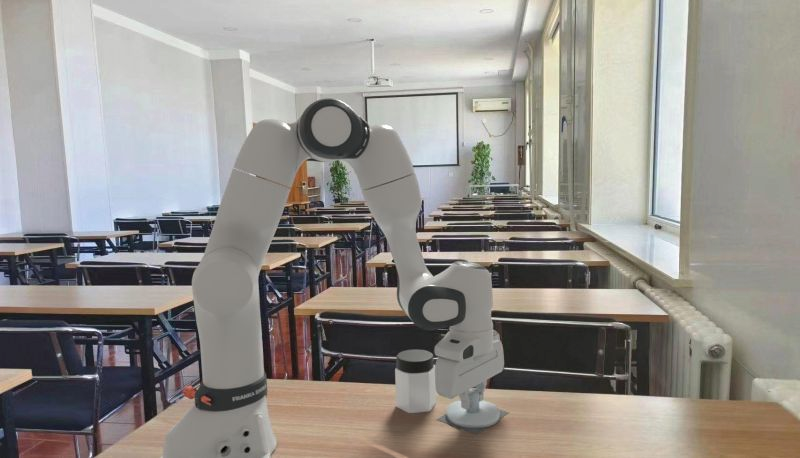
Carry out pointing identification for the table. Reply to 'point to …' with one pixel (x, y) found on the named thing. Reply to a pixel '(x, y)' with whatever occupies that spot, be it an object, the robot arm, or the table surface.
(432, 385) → the jar
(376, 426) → the table surface
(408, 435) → the table surface
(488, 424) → the lid
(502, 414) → the mat
